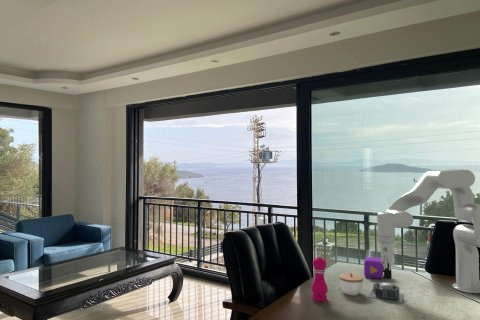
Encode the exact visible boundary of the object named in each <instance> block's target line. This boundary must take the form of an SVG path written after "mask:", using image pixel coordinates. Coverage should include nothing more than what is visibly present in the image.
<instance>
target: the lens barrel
mask: <svg viewBox="0 0 480 320" xmlns="http://www.w3.org/2000/svg"><path fill="white" fill-rule="evenodd" d="M379 283H380V282H377V283H374V284H373V286H372V287H373V288H372V289H371V291H370V293H369V295H368V298H369V299H376V300H381V301H386V302H387V301H388V302H394V303H399V304H403V299H404V297H405V294H404V293H400V286H398V285H395V284H393V290H387V289H382V288H379Z"/></svg>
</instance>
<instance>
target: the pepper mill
mask: <svg viewBox="0 0 480 320" xmlns="http://www.w3.org/2000/svg"><path fill="white" fill-rule="evenodd" d="M312 266H313V267H314V268H313V272H314V280H313V282H312V284H311V288H310V289H311V292H312V300H313V301H315V302H320V301H321V302H326V301H327V294H328V291H329V289H328V285H327V283H326V281H325V273H326V267H327V261H326V259H325V258H323V257H322V254H318V255H317V257H315V258H314V259H313V260H312Z"/></svg>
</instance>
